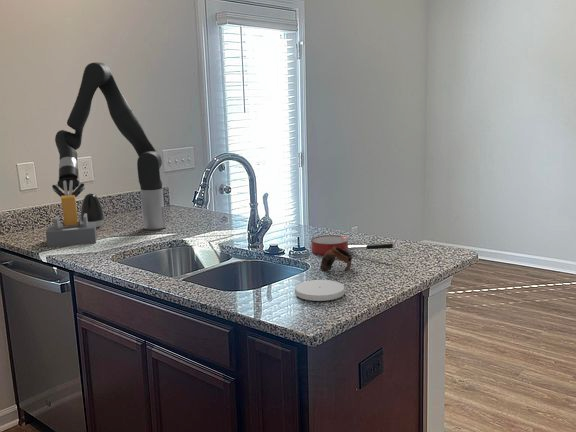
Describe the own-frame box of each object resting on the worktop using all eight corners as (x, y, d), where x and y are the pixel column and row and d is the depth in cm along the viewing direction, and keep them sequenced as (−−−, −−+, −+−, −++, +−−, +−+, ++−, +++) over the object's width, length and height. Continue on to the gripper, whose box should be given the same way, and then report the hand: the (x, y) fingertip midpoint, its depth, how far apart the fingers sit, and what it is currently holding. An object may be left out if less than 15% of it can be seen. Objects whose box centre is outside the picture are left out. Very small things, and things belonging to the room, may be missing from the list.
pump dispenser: (109, 224, 275) (106, 191, 272) (99, 229, 265) (96, 195, 262) (87, 224, 276) (84, 191, 273) (77, 229, 266) (74, 195, 263)
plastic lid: (300, 306, 164) (300, 297, 164) (290, 290, 177) (290, 282, 177) (350, 301, 166) (350, 293, 166) (337, 286, 180) (337, 278, 179)
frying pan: (403, 255, 210) (403, 237, 209) (387, 265, 199) (387, 246, 198) (323, 245, 227) (323, 228, 226) (304, 253, 217) (304, 236, 216)
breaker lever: (80, 223, 247) (76, 194, 241) (79, 226, 245) (76, 197, 239) (63, 224, 245) (59, 195, 240) (63, 227, 243) (59, 198, 238)
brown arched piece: (325, 265, 203) (337, 244, 201) (347, 281, 199) (359, 260, 197) (308, 265, 192) (321, 243, 191) (331, 282, 188) (344, 260, 186)
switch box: (96, 235, 253) (94, 212, 251) (95, 242, 241) (93, 218, 239) (51, 239, 249) (48, 215, 247) (47, 247, 236) (44, 222, 234)
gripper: (50, 165, 247) (49, 200, 238) (84, 163, 250) (85, 198, 241) (52, 176, 253) (52, 211, 244) (86, 175, 256) (87, 208, 247)
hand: (68, 204), depth 243 cm, fingers closed
